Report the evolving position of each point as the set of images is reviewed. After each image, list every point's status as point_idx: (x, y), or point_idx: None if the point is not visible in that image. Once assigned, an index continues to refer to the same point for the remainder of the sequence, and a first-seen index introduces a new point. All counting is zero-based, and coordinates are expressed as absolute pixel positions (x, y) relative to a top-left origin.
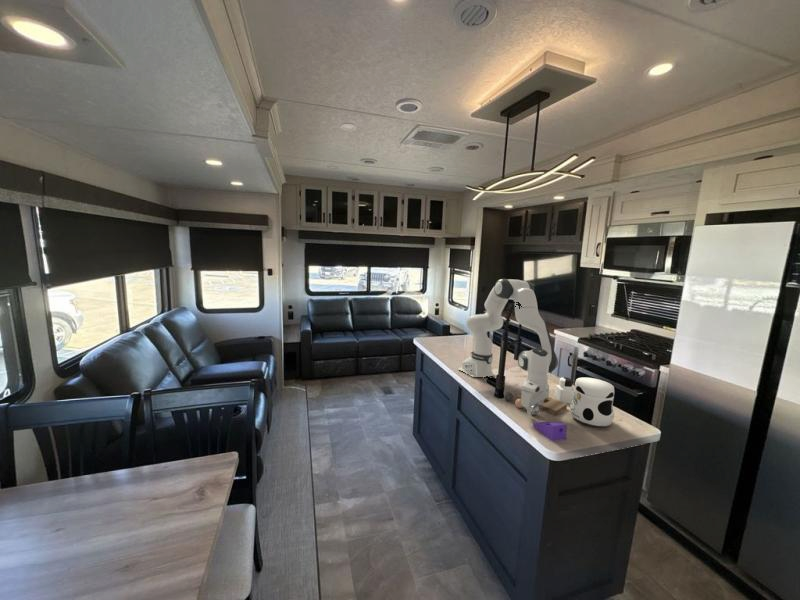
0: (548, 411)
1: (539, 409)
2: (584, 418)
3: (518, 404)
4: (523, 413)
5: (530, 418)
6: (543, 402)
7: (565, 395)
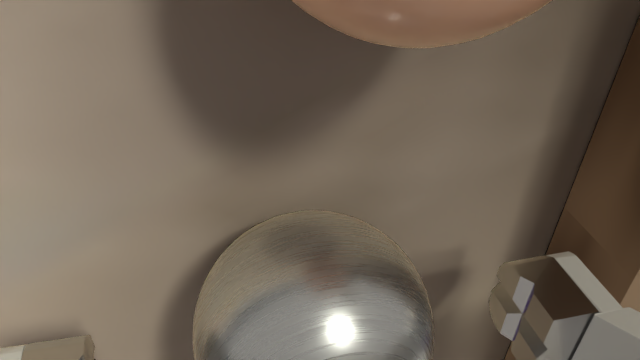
0: None
1: (574, 182)
2: None
3: None
4: (106, 120)
5: (59, 312)
6: None
7: None
